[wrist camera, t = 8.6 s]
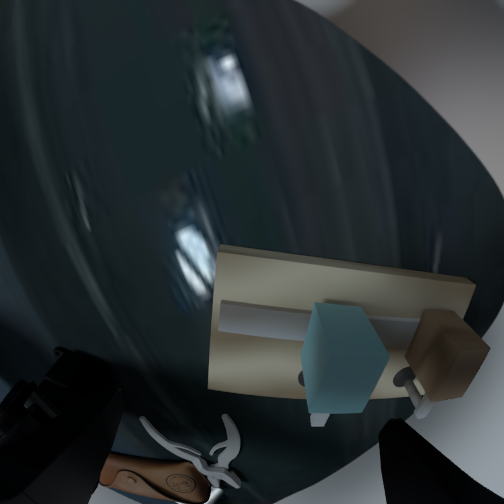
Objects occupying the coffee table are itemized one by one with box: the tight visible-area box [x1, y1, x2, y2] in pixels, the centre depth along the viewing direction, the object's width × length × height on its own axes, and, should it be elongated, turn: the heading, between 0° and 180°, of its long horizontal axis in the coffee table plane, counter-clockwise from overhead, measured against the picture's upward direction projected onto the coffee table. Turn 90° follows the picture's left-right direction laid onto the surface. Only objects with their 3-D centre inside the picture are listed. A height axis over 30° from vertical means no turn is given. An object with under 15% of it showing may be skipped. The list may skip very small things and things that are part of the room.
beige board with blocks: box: [208, 244, 490, 419], centre depth 16 cm, size 11×19×7 cm, turn 83°
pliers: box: [140, 414, 241, 488], centre depth 25 cm, size 10×2×15 cm
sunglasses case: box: [100, 451, 211, 504], centre depth 26 cm, size 18×7×7 cm, turn 102°
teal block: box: [300, 302, 390, 426], centre depth 15 cm, size 7×3×5 cm, turn 173°
